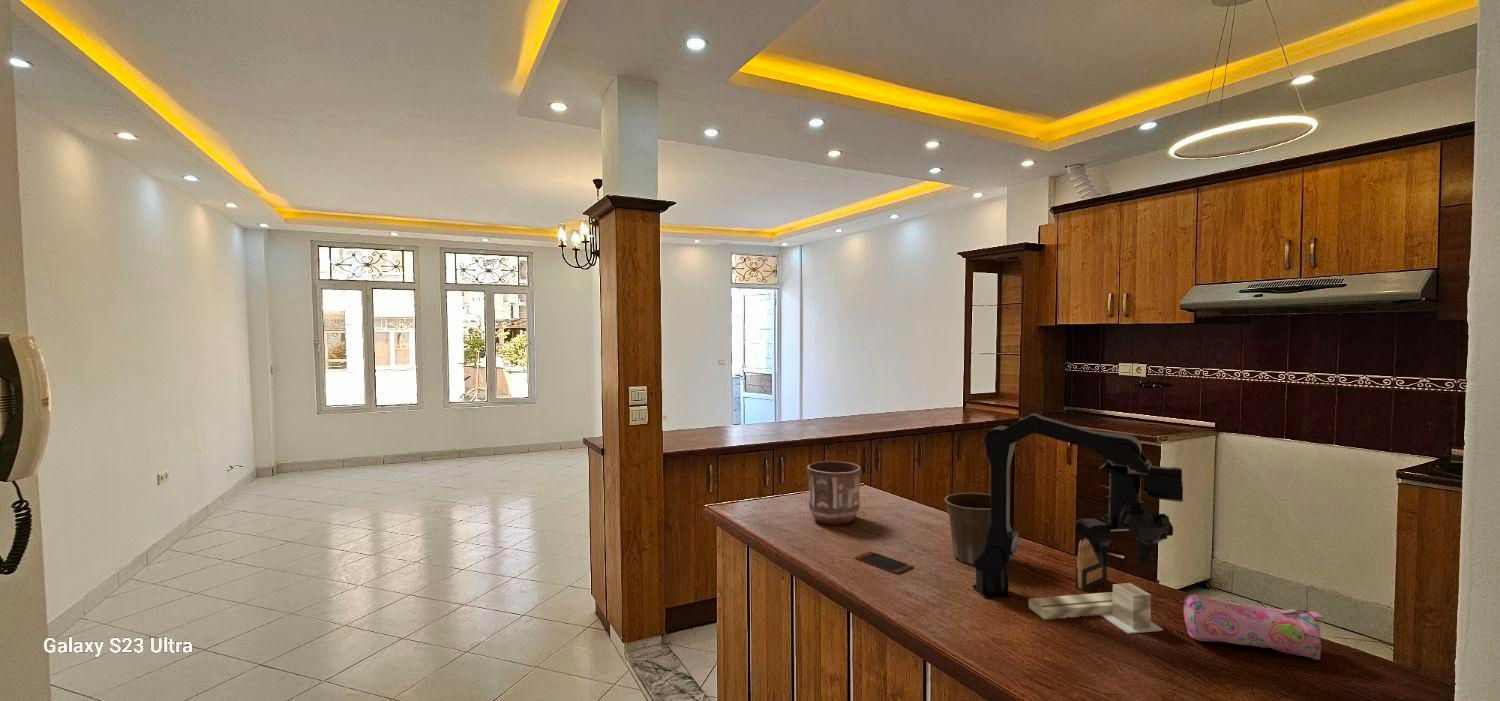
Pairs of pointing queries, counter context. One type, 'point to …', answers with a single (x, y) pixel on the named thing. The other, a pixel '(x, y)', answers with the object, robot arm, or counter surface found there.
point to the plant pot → (969, 524)
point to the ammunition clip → (1088, 567)
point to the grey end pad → (1127, 628)
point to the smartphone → (884, 563)
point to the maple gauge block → (1132, 606)
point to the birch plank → (1072, 605)
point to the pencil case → (1253, 626)
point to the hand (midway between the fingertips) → (1123, 566)
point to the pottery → (834, 491)
